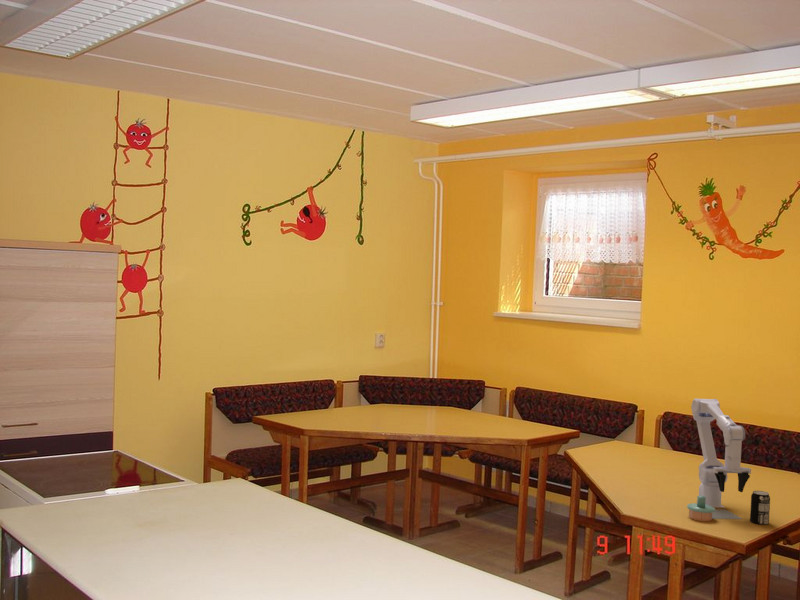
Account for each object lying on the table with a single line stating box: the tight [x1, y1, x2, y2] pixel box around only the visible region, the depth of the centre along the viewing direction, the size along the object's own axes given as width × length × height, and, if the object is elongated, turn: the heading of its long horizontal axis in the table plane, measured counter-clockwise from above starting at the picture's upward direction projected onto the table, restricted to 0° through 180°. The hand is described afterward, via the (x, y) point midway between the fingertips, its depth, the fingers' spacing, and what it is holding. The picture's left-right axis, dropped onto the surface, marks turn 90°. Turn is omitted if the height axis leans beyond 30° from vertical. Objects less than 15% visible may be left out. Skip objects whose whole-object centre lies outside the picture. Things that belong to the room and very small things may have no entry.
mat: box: [712, 508, 743, 520], centre depth 320 cm, size 13×12×1 cm
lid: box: [686, 495, 716, 513], centre depth 313 cm, size 10×10×5 cm
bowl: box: [688, 509, 713, 522], centre depth 313 cm, size 8×8×4 cm
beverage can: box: [749, 490, 771, 526], centre depth 310 cm, size 7×7×12 cm
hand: (731, 491), depth 319 cm, fingers open, 7 cm apart
